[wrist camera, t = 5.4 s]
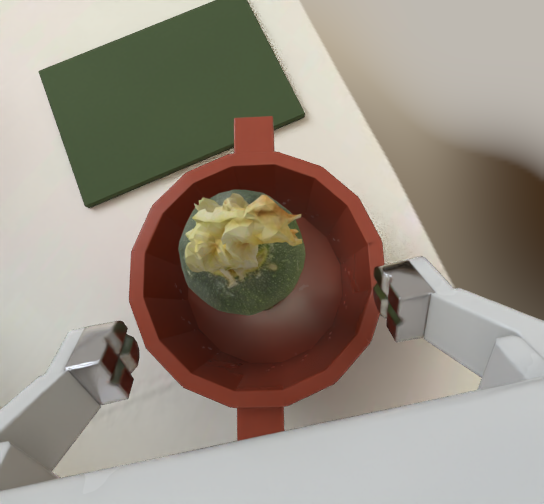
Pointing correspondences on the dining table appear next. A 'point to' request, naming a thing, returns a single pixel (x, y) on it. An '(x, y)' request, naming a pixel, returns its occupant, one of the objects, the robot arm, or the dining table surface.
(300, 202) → the pot
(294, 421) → the dining table surface
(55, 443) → the robot arm
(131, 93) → the mat
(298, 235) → the vegetable
